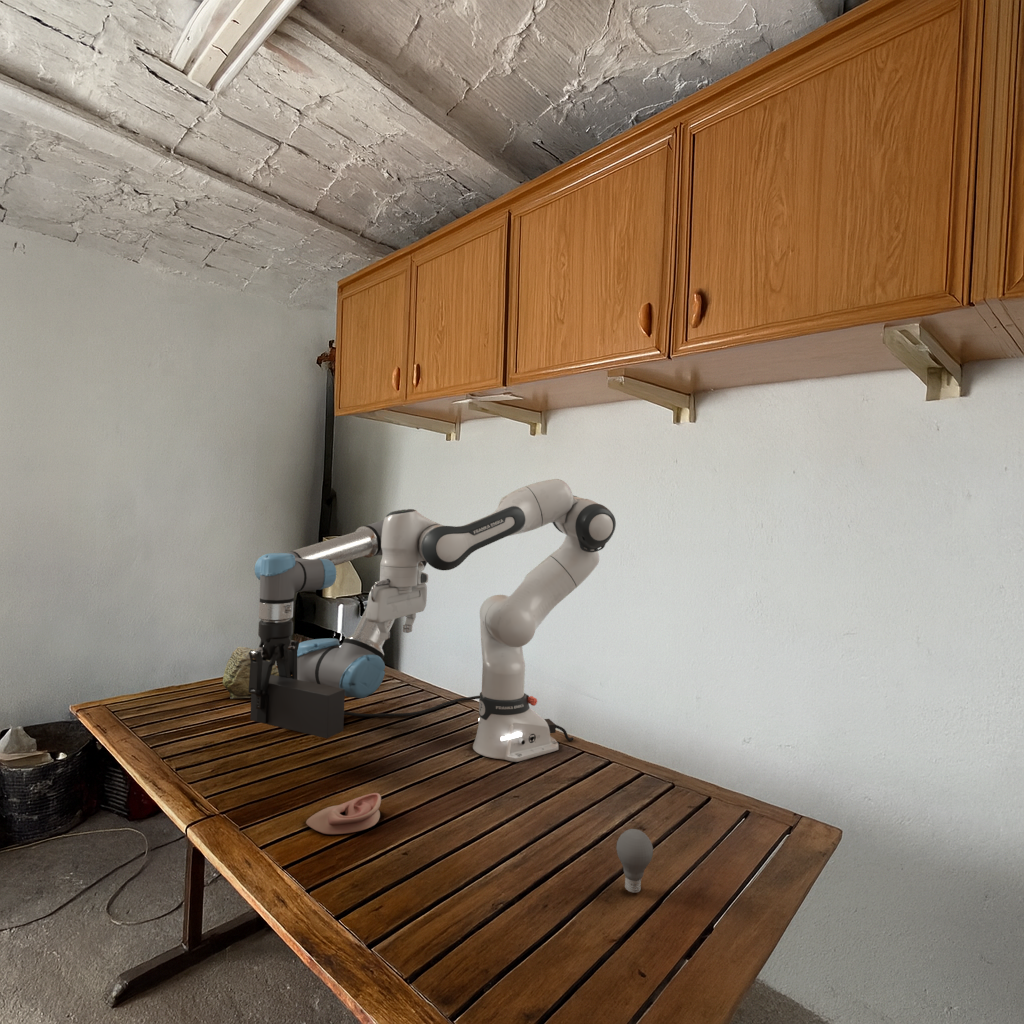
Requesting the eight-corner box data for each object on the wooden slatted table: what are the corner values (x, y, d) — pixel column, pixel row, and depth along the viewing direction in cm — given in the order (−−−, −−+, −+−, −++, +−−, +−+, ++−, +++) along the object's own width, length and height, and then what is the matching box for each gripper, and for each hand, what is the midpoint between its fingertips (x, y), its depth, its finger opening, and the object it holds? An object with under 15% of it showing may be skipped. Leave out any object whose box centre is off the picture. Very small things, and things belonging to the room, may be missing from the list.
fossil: (218, 695, 195) (220, 647, 195) (278, 685, 208) (279, 640, 207) (228, 703, 189) (230, 653, 188) (289, 692, 201) (290, 645, 201)
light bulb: (610, 879, 108) (613, 822, 108) (644, 879, 109) (647, 822, 109) (619, 902, 102) (622, 840, 102) (655, 901, 103) (658, 840, 103)
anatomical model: (298, 809, 120) (327, 783, 131) (297, 830, 120) (327, 802, 131) (363, 819, 117) (388, 791, 128) (362, 840, 117) (387, 811, 128)
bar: (250, 720, 148) (251, 679, 148) (268, 713, 153) (269, 674, 153) (327, 738, 139) (328, 695, 138) (343, 730, 144) (345, 689, 144)
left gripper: (257, 628, 138) (253, 733, 139) (315, 615, 155) (312, 709, 156) (232, 624, 141) (228, 727, 142) (292, 611, 158) (288, 704, 159)
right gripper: (384, 583, 139) (381, 645, 139) (432, 574, 158) (429, 630, 158) (360, 580, 142) (358, 642, 142) (410, 572, 160) (408, 626, 161)
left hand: (272, 717), depth 149 cm, fingers closed on bar, 5 cm apart
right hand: (396, 635), depth 150 cm, fingers open, 8 cm apart
